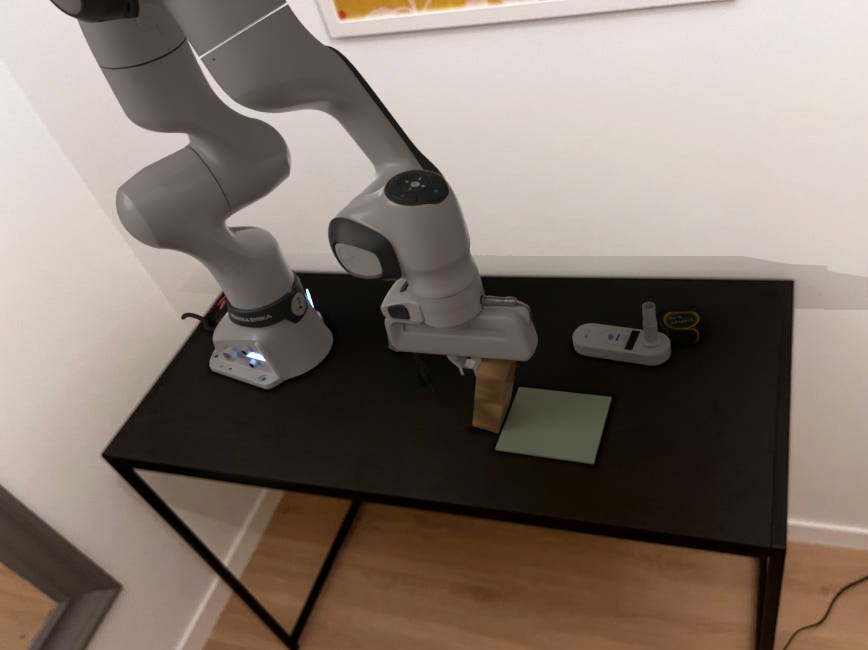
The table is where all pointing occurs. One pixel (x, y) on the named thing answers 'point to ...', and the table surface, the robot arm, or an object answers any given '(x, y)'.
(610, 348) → the electronic device
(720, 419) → the table surface
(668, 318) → the tape measure
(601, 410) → the mat
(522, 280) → the table surface
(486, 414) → the block
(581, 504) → the table surface
